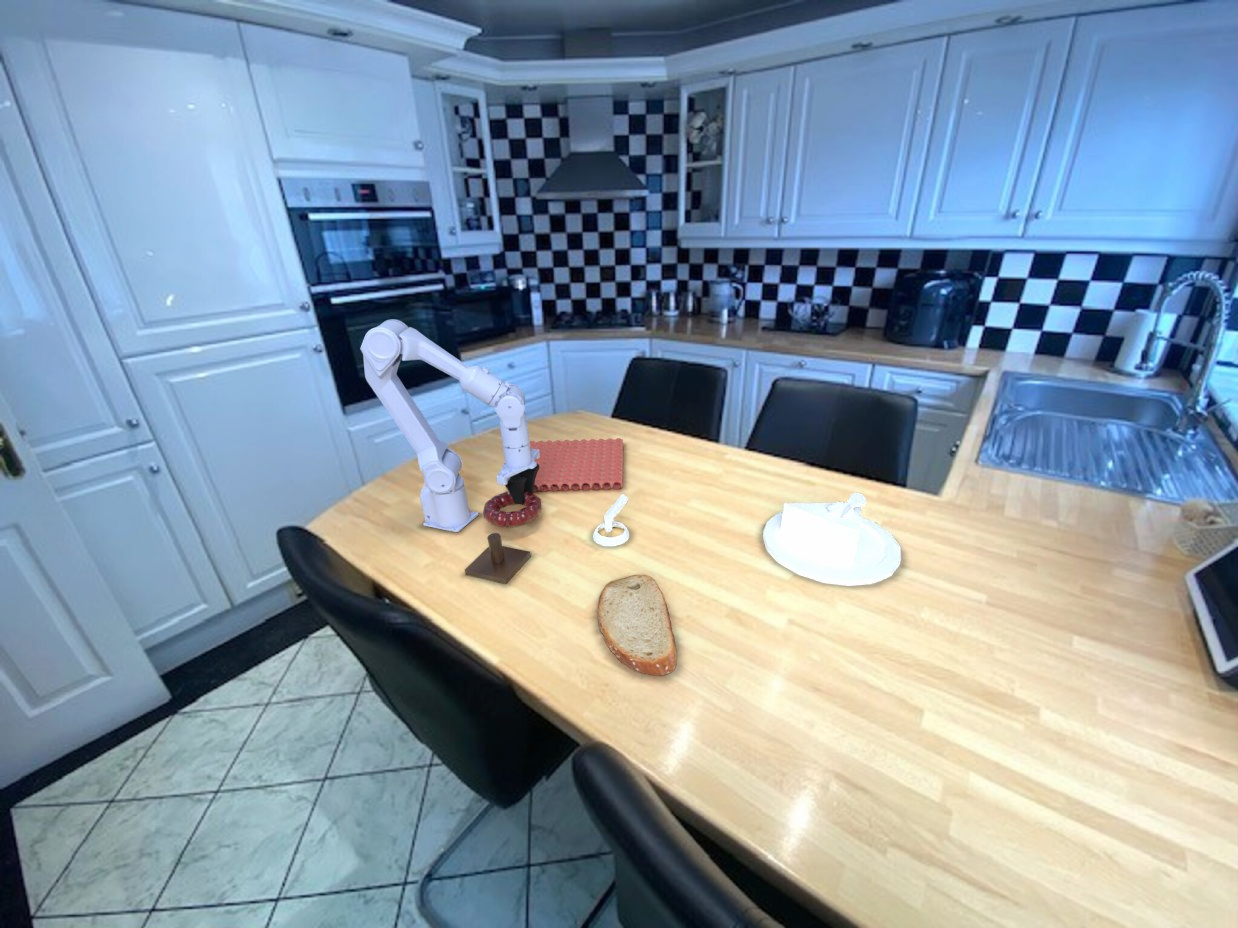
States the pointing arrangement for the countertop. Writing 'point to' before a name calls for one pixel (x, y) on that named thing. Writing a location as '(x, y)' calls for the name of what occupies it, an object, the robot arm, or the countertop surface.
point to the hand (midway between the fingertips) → (523, 499)
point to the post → (497, 561)
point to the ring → (513, 517)
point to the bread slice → (637, 624)
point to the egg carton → (579, 464)
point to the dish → (832, 543)
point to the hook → (612, 525)
